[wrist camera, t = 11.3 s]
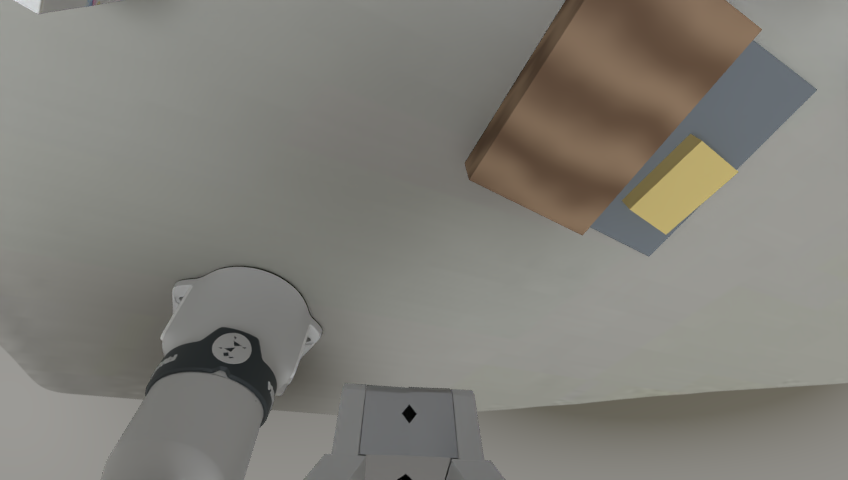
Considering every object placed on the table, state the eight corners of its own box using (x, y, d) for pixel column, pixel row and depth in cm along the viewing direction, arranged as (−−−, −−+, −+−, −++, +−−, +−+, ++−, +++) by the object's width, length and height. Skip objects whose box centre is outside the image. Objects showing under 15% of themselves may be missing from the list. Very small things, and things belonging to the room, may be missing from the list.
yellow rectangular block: (629, 209, 44) (621, 200, 46) (666, 234, 46) (657, 225, 48) (702, 140, 40) (690, 133, 42) (738, 171, 42) (726, 164, 44)
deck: (570, 216, 47) (582, 235, 44) (464, 163, 43) (469, 179, 40) (730, 23, 36) (762, 29, 33) (609, -70, 32) (632, -74, 29)
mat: (647, 255, 50) (648, 256, 50) (577, 219, 47) (578, 221, 47) (814, 88, 40) (817, 89, 39) (737, 29, 37) (740, 29, 36)
